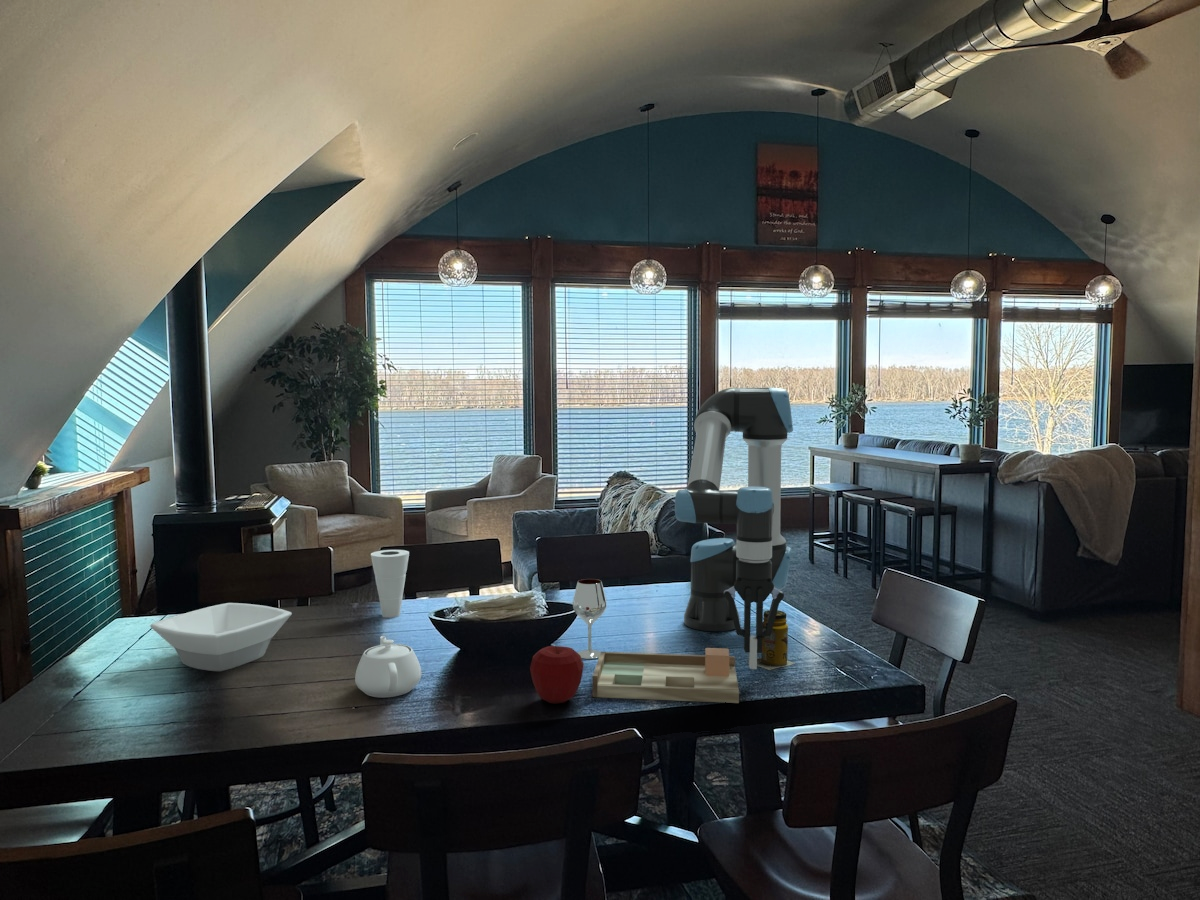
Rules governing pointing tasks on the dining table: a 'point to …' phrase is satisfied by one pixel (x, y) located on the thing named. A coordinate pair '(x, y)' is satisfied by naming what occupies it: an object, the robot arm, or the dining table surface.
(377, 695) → the teapot
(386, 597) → the cup
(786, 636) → the condiment
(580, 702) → the dining table surface
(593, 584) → the wineglass
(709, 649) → the block
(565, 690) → the apple
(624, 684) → the tray
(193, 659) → the bowl
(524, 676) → the dining table surface
